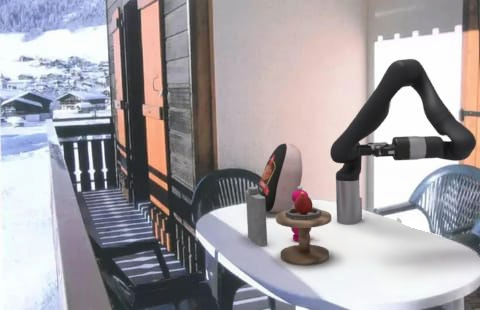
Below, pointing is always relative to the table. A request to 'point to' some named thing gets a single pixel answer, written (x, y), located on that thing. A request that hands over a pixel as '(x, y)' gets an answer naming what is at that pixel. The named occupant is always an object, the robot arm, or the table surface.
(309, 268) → the table surface
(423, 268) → the table surface
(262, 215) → the hip flask
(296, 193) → the pepper mill
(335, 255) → the table surface
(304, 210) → the onion
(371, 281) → the table surface
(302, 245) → the ring stand
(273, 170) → the packaged food
